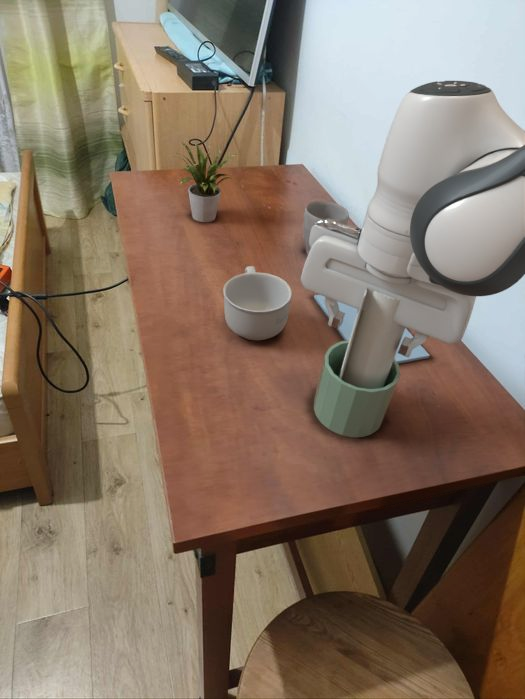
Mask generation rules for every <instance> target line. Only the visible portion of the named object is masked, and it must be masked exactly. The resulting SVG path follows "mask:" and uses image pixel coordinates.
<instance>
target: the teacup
mask: <svg viewBox="0 0 525 699" xmlns="http://www.w3.org/2000/svg"><path fill="white" fill-rule="evenodd" d="M222 292H223V307H224V308H223V309H224V319H225V322H226V324H227V326H228V328H229V329H230V330H231V331H232V332H233V333H234V334H235V335H237V336H239V337H241V338H243V339H246V340H248V341H249V340H250V341H264V340H267V339H270V338H274V337H275V336H277V335H278V334H280V332H282V331H283V330H284V328H285V327H286V324H287V322H288V318H289V314H290V306H291V300H292V296H293V291H292V288H291V286H290V285H289V283H287V282H286V280H284V279H283V278H281V277H279V276H278V275H274V274H272V273H267V272H257V269H256V267H255V266H253V265H249V266H246V267H245V269H244V273H241V274H237V275H235V276H233V277H231V278H230V279H228V280H227V281H226V283H224V286H223V290H222Z"/></svg>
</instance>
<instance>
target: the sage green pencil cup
mask: <svg viewBox="0 0 525 699" xmlns="http://www.w3.org/2000/svg"><path fill="white" fill-rule="evenodd" d="M348 343H349V340H348V341H345V340H341V341H339V342H336V343H334V344H333V345H330V347H329V348H328V349H327V351H326V352H325V354H324V356H323V361H322V366H321V370H320V374H319V377H318V382H317V386H316V389H315V394H314V398H313V411H314V414H315V416H316V418H317V420H318V421H319V423H321V424H322V426H324V427H325V428H326V429H328V430H329V431H330V432H332V433H335V434H337V435H339V436H342V437H347V438H364V437H368V436H370V435H372V434H374V433H376V432H377V431H378V430H379V429H380V427H381V426H382V423H383V421H384V419H385V416H386V413H387V411H388V409H389V406H390V403H391V401H392V399H393V396H394V393H395V390H396V388H397V386H398V383H399V379H400V378H401V370H400V363H399V364H398V363H397V362H396V360H395V359H394V360H393V363H392V366H391V368H390V371H389V374H388V377H387V379H386V382H385V385H384V387H383V388H377V389H366V388H359V387H356V386H353V385H351V384H348V383H346V382H344V381H343V380H342V379H340V378H339V375H340V371H341V368H342V364H343V361H344V357H345V354H346V350H347V347H348Z"/></svg>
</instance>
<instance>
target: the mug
mask: <svg viewBox="0 0 525 699" xmlns="http://www.w3.org/2000/svg"><path fill="white" fill-rule="evenodd" d="M304 208H305V209H304V214H303V220H302V222H303V223H302V235H303V236H302V237H303V242H304V243H303V244H304V246H305V252H306V254H307V255H308V254H309V251H310V249H311V247H310V245H309V237H310V232H311V228H312V226H313V224H314V223H316V222H317V221H321V220H325V219H333V220H336V221H337V222H339V223H342V224H347V225H348V223H349V218H350V213H349V211H348V209H347V208H346V207H344V206H343V205H341V204H338V203H336V202H333V201H325V200H315V201H312V202H309V203H308V204H307V205H306V206H305V207H304ZM322 225H324V224H322Z"/></svg>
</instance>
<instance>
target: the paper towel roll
mask: <svg viewBox="0 0 525 699" xmlns="http://www.w3.org/2000/svg"><path fill="white" fill-rule="evenodd" d="M366 293H367V288H366V290H365V293H364V297H363V299H362V302H361V306H360V309H358V311H357V315H356V318H355V322H354V325H353V329H352V332H351V336H350V339H349V343H348V347H347V350H346V354H345V357H344V361H343V364H342V368H341V371H340V375H339V378H340V379H342V380H343V381H344V382H346V383H348V384H351V385H353V386H356V387H359V388H366V389H377V388H383V387H384V385H385V382H386V379H387V377H388V374H389V371H390V368H391V366H392V363H393V360H394V358H395V355H396V352H397V349H398V347H399V344H400V341H401V339H402V336H403V333H404V330H405V328H406V327H403V326H401V325H398V324H396V323H394V322H393V318H394V315H395V312H396V310H397V307H398V304H399V301H400V300H399V299H396V298H393V297H390V296H387V295H385V294H382V293H379V292H376V291H374V292H373V296H372V299H371V303H370V307H369V310H368V311H367V312H364V311H362V307H363V303H364V300H365V297H366ZM406 329H407V328H406Z"/></svg>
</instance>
